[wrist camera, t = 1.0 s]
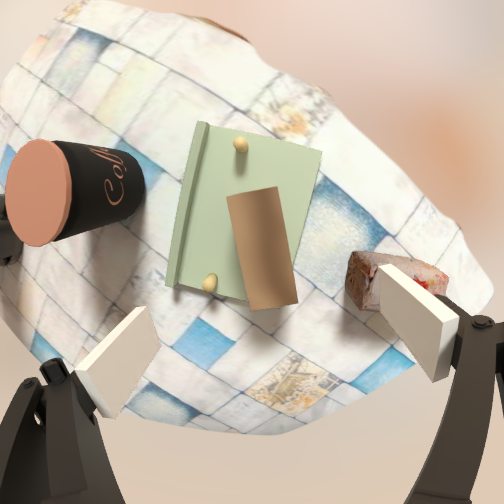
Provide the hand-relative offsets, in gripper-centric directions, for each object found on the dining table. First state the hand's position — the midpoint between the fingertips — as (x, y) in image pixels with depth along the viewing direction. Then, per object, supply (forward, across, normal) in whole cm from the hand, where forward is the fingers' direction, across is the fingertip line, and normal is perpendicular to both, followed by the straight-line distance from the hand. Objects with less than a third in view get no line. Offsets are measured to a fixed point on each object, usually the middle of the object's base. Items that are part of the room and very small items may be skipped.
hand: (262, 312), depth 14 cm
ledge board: (+24, -3, +3) cm, 24 cm away
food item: (+24, +16, -9) cm, 31 cm away
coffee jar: (+24, -20, +12) cm, 33 cm away
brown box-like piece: (+22, 0, 0) cm, 22 cm away
